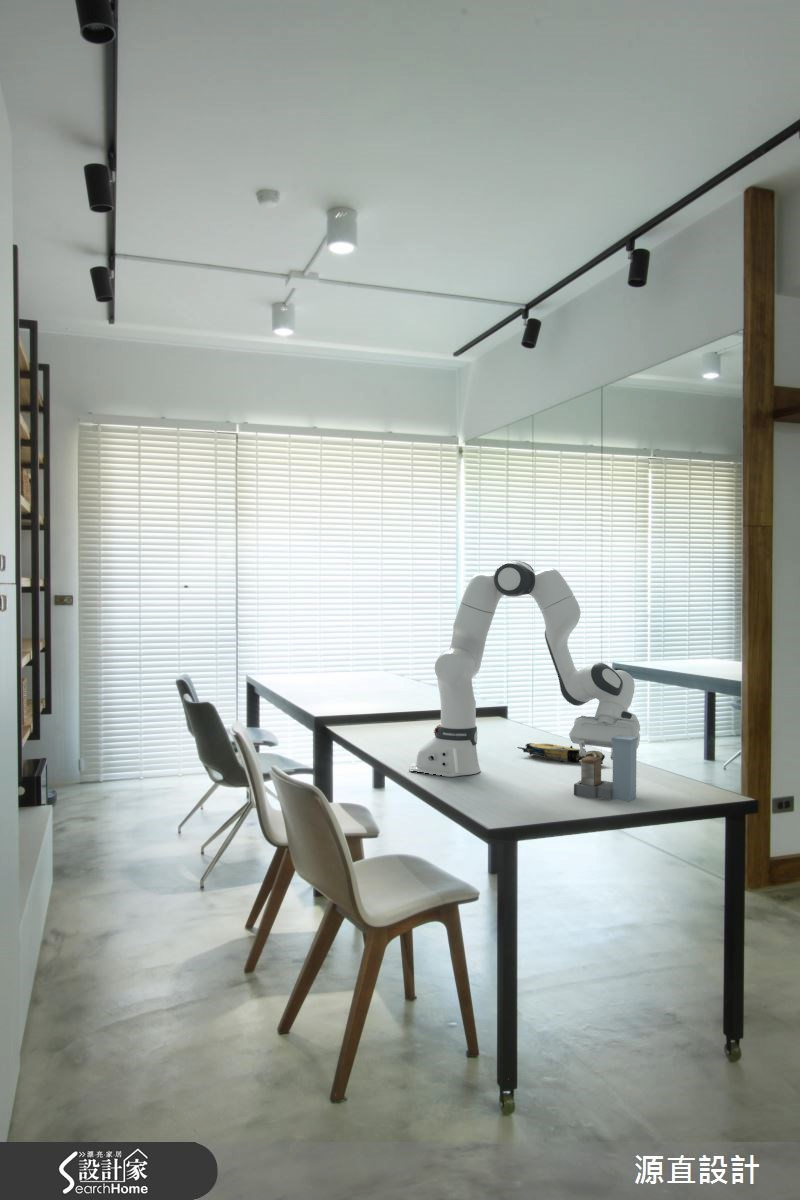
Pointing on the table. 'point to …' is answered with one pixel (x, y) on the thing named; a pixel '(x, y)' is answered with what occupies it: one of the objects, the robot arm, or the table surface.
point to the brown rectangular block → (591, 771)
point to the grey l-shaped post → (616, 773)
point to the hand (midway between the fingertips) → (597, 757)
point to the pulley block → (559, 752)
